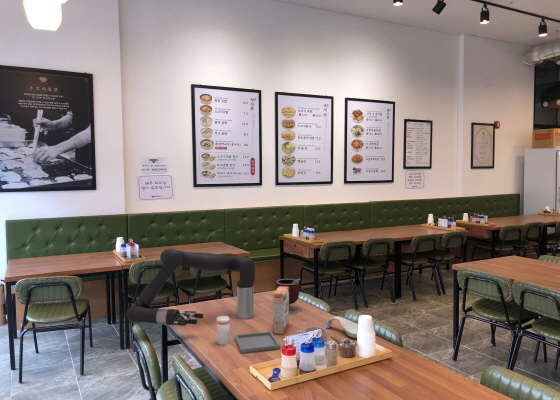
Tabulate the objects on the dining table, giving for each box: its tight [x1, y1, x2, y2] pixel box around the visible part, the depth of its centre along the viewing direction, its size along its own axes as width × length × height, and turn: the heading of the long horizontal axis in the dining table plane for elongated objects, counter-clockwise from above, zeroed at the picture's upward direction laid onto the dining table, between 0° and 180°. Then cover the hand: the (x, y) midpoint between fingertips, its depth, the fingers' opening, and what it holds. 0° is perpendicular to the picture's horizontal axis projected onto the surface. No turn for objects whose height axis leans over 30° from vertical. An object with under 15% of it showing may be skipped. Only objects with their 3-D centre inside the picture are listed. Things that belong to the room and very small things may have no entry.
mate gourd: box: [274, 278, 301, 315], centre depth 256 cm, size 16×14×20 cm
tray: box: [234, 330, 281, 355], centre depth 208 cm, size 18×18×2 cm
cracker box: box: [272, 286, 290, 335], centre depth 226 cm, size 14×6×21 cm, turn 168°
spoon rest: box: [324, 315, 359, 339], centre depth 221 cm, size 24×12×7 cm, turn 48°
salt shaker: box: [216, 315, 231, 346], centre depth 210 cm, size 6×6×12 cm
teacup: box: [296, 325, 328, 343], centre depth 205 cm, size 14×11×8 cm
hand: (200, 319), depth 211 cm, fingers open, 8 cm apart
